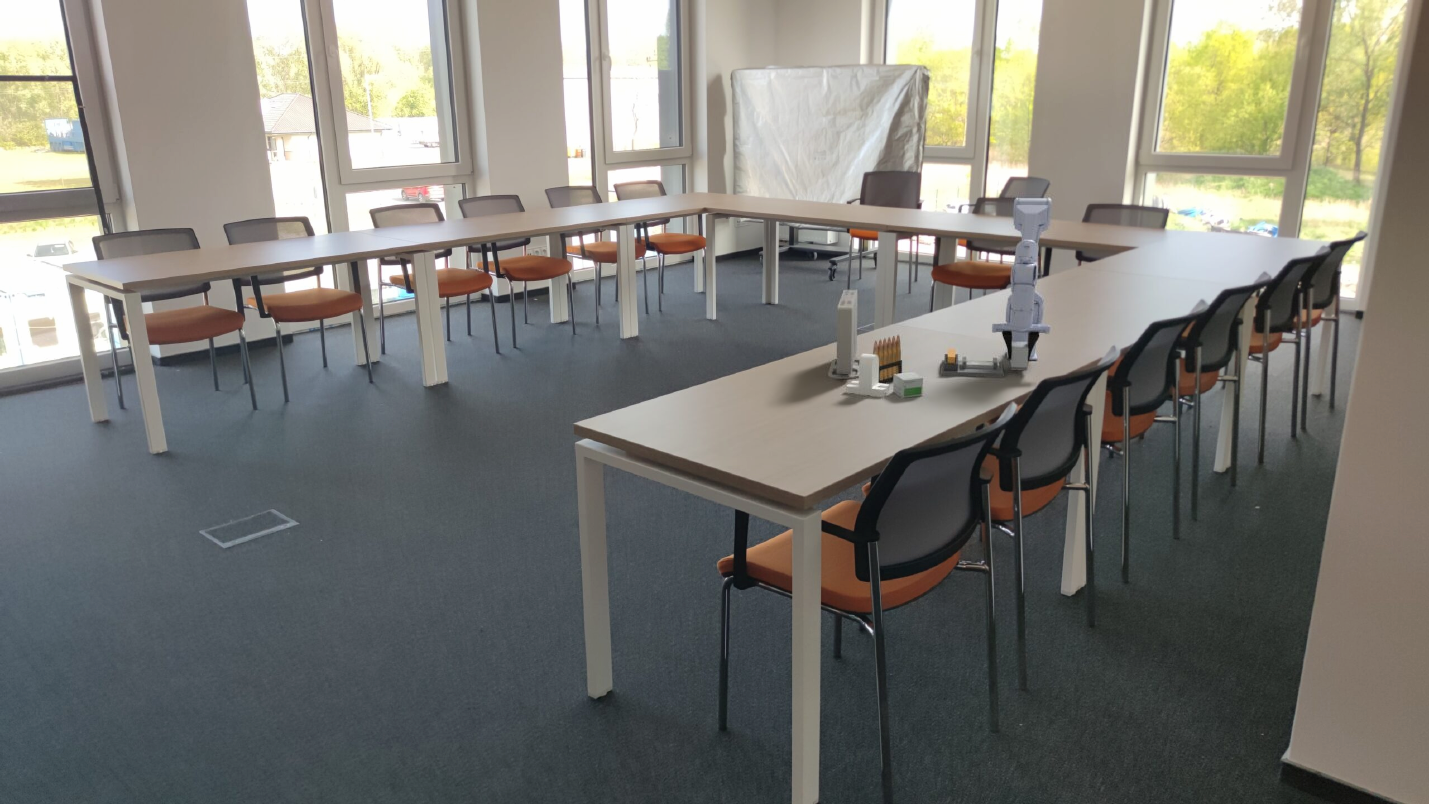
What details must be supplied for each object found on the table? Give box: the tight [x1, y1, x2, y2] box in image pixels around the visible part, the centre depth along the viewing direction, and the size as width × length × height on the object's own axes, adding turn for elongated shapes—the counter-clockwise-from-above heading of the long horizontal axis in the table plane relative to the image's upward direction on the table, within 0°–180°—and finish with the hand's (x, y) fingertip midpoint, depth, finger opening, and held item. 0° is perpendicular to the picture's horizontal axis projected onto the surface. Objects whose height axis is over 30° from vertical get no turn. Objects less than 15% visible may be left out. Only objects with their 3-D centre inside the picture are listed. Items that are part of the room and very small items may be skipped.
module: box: [1009, 341, 1029, 371], centre depth 256 cm, size 7×4×6 cm, turn 167°
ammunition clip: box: [872, 334, 903, 384], centre depth 250 cm, size 11×2×12 cm, turn 130°
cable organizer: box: [846, 353, 890, 398], centre depth 242 cm, size 5×10×10 cm, turn 62°
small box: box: [892, 371, 924, 399], centre depth 241 cm, size 6×6×5 cm
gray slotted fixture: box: [943, 353, 1000, 371], centre depth 260 cm, size 10×14×2 cm
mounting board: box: [940, 359, 1005, 378], centre depth 260 cm, size 12×16×1 cm
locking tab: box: [947, 348, 956, 363], centre depth 260 cm, size 8×2×2 cm, turn 167°
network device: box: [827, 289, 860, 380], centre depth 262 cm, size 26×9×20 cm, turn 168°
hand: (1018, 358), depth 256 cm, fingers closed on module, 4 cm apart
